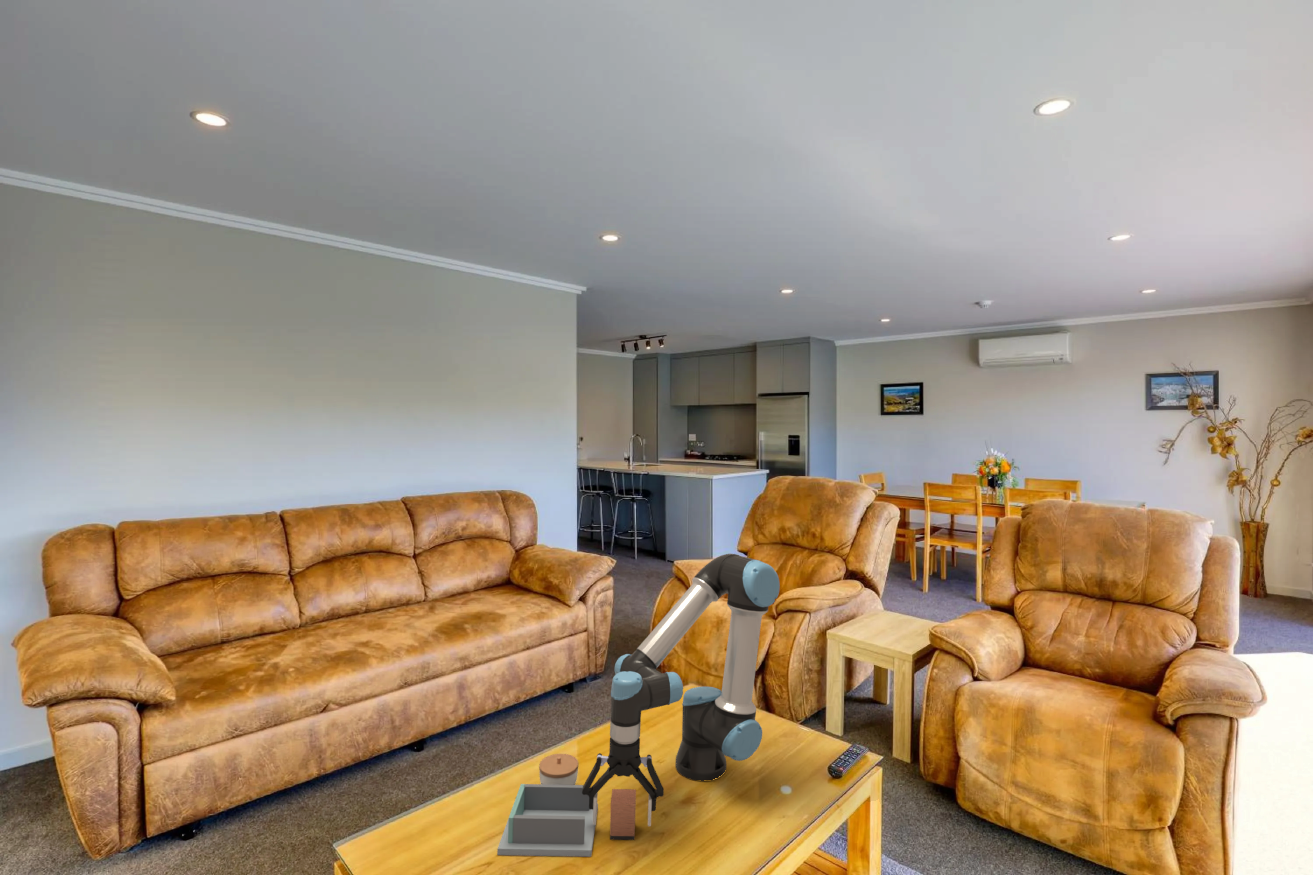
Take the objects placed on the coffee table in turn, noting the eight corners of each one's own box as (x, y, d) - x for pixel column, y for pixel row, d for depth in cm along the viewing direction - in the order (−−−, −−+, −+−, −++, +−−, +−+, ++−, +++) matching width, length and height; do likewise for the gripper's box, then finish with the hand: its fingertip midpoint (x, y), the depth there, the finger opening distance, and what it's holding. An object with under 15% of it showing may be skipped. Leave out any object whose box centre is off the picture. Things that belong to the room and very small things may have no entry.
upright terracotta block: (635, 824, 156) (635, 789, 156) (634, 840, 150) (635, 803, 150) (611, 823, 156) (612, 788, 156) (609, 839, 150) (610, 803, 150)
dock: (597, 808, 162) (598, 780, 162) (591, 856, 144) (591, 824, 144) (514, 807, 161) (514, 779, 161) (497, 854, 143) (498, 823, 143)
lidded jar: (570, 805, 163) (571, 770, 163) (532, 799, 165) (533, 765, 165) (582, 782, 173) (583, 750, 173) (547, 777, 176) (548, 745, 175)
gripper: (674, 731, 156) (671, 813, 156) (576, 728, 156) (573, 811, 156) (675, 746, 149) (672, 832, 149) (573, 743, 149) (570, 830, 149)
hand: (622, 821), depth 153 cm, fingers open, 13 cm apart
